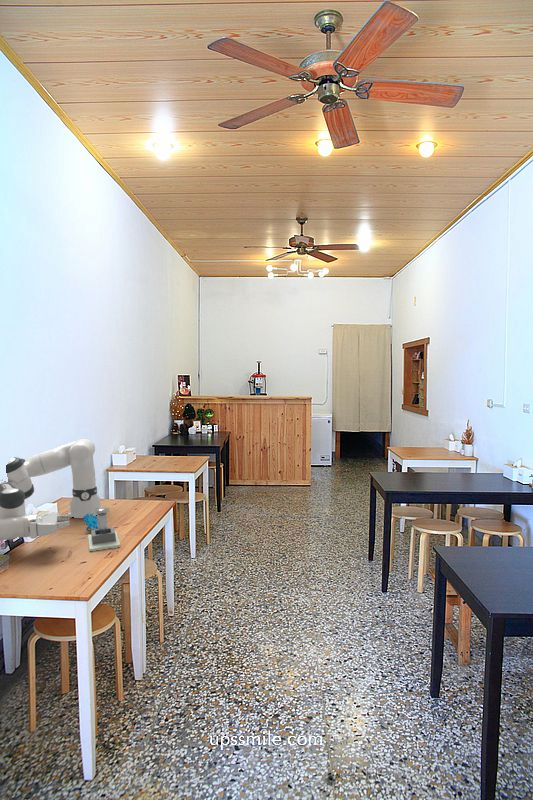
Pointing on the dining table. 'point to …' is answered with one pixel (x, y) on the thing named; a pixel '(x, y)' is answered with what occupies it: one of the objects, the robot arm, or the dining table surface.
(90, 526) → the gear
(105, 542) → the socket board
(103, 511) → the pin
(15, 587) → the dining table surface
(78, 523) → the dining table surface
